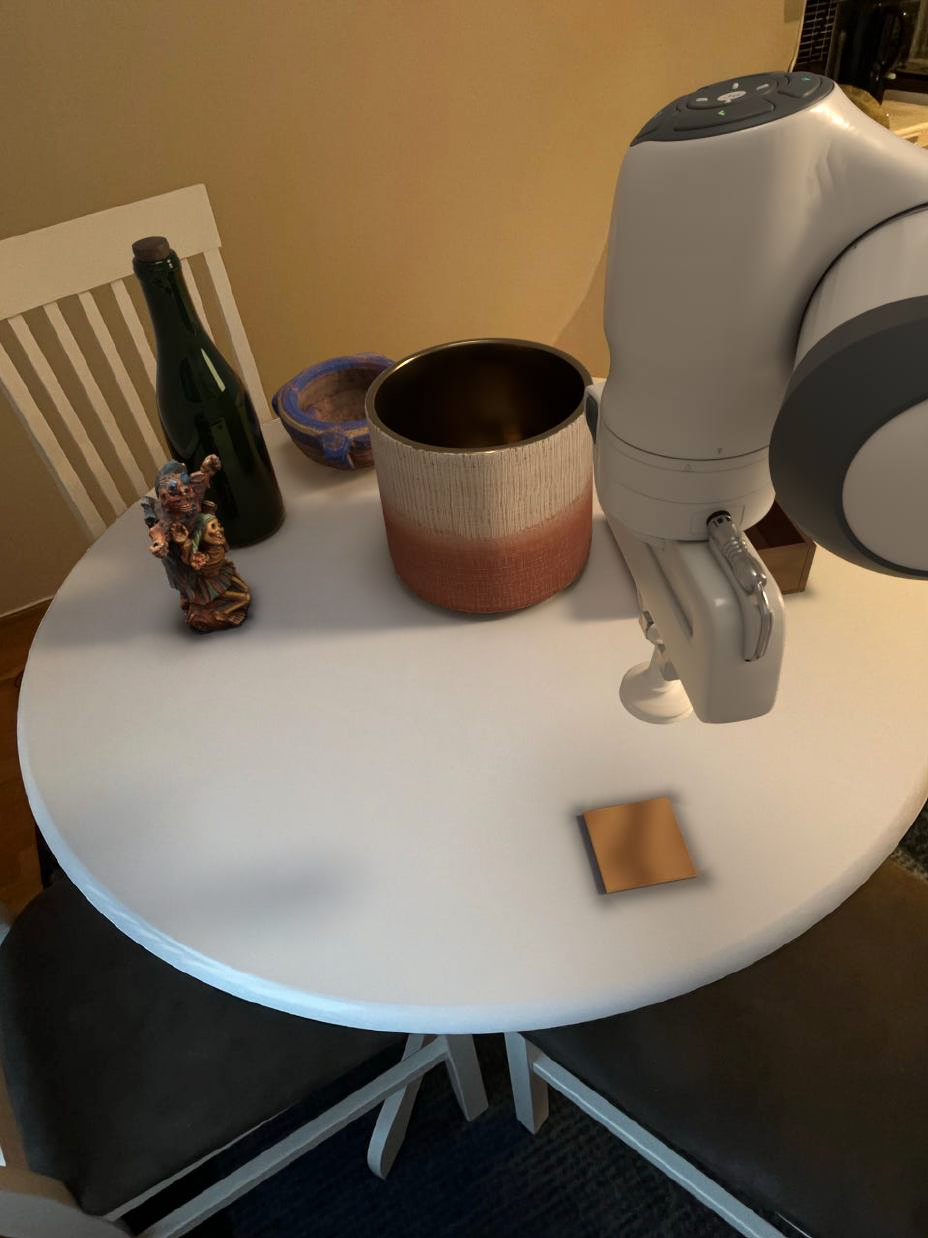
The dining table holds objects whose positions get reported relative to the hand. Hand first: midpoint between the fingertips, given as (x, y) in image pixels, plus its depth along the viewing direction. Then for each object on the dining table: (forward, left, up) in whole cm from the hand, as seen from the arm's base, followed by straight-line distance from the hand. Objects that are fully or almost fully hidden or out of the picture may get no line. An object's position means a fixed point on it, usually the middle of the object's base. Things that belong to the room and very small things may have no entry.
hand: (664, 650), depth 51 cm
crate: (-16, -31, -21) cm, 41 cm away
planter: (+6, -37, -22) cm, 43 cm away
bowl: (+19, -61, -22) cm, 67 cm away
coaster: (+1, +1, -21) cm, 21 cm away
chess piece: (0, 0, -4) cm, 4 cm away
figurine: (+35, -34, -22) cm, 53 cm away
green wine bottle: (+34, -50, -22) cm, 64 cm away
